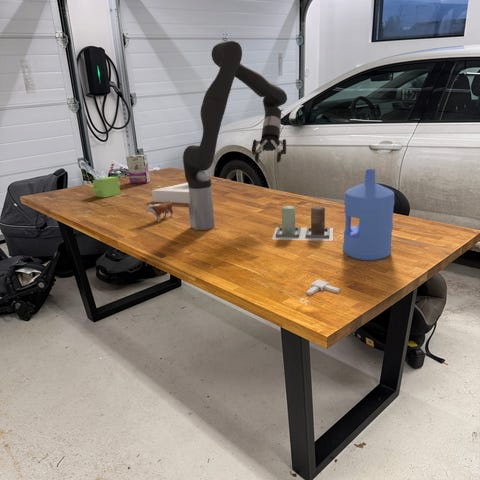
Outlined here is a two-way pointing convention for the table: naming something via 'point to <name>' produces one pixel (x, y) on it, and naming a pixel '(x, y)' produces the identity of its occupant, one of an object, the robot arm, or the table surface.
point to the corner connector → (321, 287)
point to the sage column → (288, 220)
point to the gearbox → (106, 187)
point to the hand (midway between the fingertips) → (267, 161)
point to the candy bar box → (138, 169)
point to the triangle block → (172, 194)
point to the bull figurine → (160, 209)
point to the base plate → (303, 234)
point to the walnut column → (318, 220)
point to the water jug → (368, 220)
